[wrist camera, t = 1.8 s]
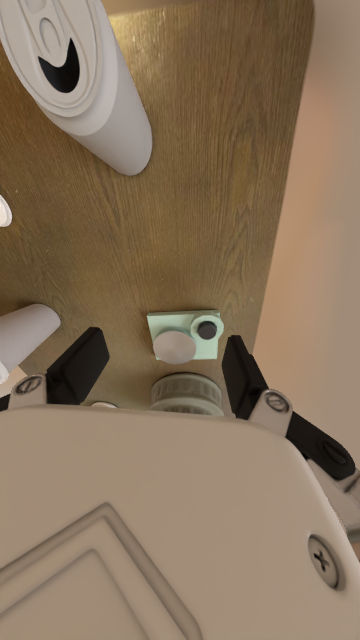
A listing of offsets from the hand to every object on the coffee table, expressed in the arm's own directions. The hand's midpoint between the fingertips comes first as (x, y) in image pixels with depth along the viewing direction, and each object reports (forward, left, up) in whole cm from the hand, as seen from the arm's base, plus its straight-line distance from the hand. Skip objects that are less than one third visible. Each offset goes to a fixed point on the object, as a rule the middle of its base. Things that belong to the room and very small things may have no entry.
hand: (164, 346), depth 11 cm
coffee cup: (+30, +7, -18) cm, 36 cm away
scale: (0, +13, -18) cm, 22 cm away
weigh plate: (+2, +14, -15) cm, 20 cm away
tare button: (-5, +9, -15) cm, 18 cm away
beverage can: (+5, -17, -18) cm, 25 cm away
